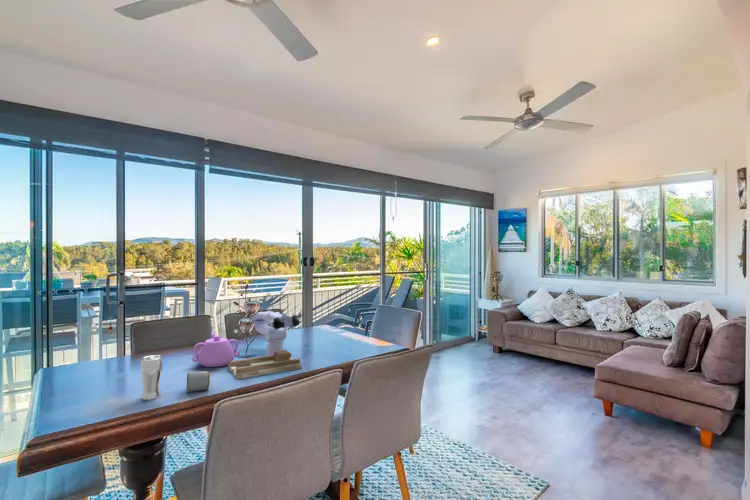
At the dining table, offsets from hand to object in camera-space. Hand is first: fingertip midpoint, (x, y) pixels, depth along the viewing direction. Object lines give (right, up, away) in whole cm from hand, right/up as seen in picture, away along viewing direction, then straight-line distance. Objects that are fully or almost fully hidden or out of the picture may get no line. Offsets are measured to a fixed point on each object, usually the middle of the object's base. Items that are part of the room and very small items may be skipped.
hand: (291, 324), depth 183 cm
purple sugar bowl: (-39, -21, +6) cm, 45 cm away
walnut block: (-6, -19, +3) cm, 20 cm away
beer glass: (-45, -21, -39) cm, 63 cm away
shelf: (-12, -21, -2) cm, 24 cm away
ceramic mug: (-32, -21, -29) cm, 48 cm away
